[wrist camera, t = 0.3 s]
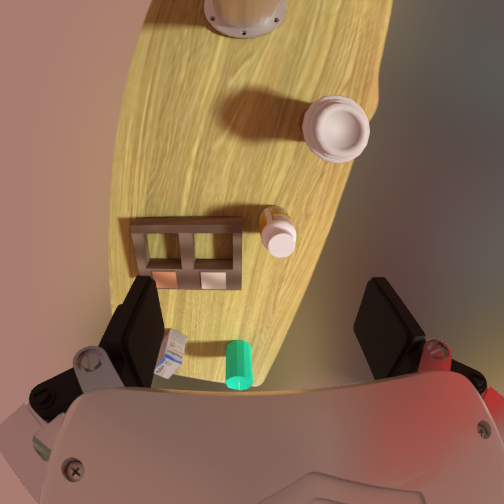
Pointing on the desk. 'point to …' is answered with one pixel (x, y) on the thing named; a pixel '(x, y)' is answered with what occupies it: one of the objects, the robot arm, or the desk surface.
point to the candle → (238, 365)
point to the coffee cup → (334, 128)
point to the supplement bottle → (277, 231)
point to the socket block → (189, 253)
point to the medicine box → (170, 354)
